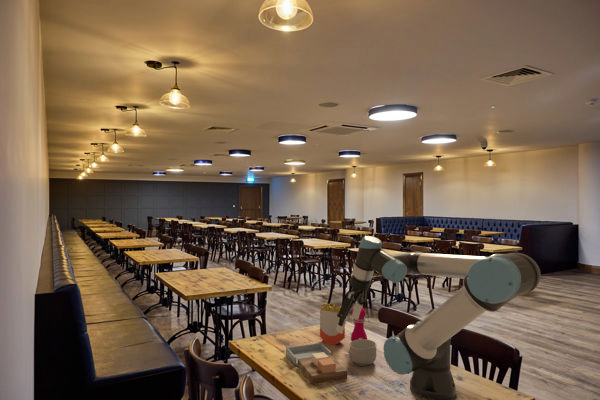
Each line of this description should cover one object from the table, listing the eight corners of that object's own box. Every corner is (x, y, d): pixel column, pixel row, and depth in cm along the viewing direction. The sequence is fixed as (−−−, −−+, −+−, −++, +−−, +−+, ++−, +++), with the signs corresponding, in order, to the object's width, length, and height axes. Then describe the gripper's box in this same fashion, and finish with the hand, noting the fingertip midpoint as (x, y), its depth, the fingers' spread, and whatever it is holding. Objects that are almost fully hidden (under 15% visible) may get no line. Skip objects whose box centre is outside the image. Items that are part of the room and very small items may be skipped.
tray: (331, 360, 165) (331, 352, 165) (294, 366, 159) (294, 357, 159) (320, 350, 176) (320, 342, 176) (286, 355, 170) (286, 347, 170)
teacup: (376, 369, 157) (376, 349, 157) (348, 367, 159) (348, 347, 159) (376, 355, 170) (376, 337, 170) (351, 353, 172) (351, 335, 172)
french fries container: (324, 338, 191) (324, 300, 191) (345, 342, 185) (345, 304, 185) (319, 341, 187) (319, 302, 187) (340, 346, 181) (340, 306, 181)
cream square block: (328, 364, 154) (328, 356, 154) (316, 366, 152) (316, 358, 152) (323, 359, 159) (323, 352, 159) (311, 361, 157) (311, 353, 157)
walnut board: (347, 378, 149) (347, 370, 149) (312, 384, 144) (312, 375, 144) (329, 361, 164) (330, 354, 164) (297, 366, 159) (297, 359, 159)
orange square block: (335, 371, 148) (335, 363, 148) (323, 373, 146) (323, 365, 146) (330, 366, 153) (330, 358, 153) (318, 368, 151) (318, 360, 151)
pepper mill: (352, 344, 183) (352, 300, 183) (368, 346, 181) (368, 302, 181) (349, 350, 176) (349, 305, 176) (365, 352, 174) (365, 306, 174)
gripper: (366, 263, 161) (352, 308, 167) (337, 282, 140) (323, 333, 146) (383, 271, 157) (369, 317, 163) (355, 291, 137) (340, 343, 143)
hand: (347, 324), depth 155 cm, fingers open, 13 cm apart
